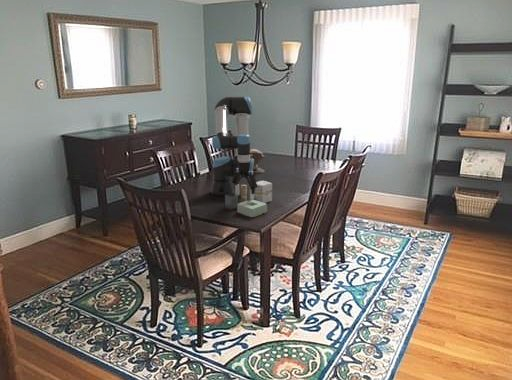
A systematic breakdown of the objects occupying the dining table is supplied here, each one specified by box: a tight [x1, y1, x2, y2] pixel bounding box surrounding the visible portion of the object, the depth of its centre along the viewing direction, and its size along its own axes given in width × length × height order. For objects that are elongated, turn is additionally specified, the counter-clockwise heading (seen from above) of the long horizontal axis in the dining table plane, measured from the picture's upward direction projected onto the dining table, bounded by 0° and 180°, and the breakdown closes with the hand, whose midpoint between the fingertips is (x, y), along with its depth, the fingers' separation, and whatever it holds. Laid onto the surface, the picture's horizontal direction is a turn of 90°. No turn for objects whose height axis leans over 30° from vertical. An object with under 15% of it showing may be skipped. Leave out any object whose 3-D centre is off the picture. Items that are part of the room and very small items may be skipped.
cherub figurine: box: [250, 148, 266, 174], centre depth 320 cm, size 18×18×18 cm
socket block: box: [236, 199, 268, 218], centre depth 231 cm, size 12×12×5 cm
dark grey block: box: [224, 192, 239, 211], centre depth 238 cm, size 6×6×8 cm
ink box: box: [253, 180, 273, 204], centre depth 249 cm, size 9×8×12 cm
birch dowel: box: [240, 184, 248, 203], centre depth 242 cm, size 4×4×12 cm
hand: (244, 197), depth 242 cm, fingers open, 12 cm apart
